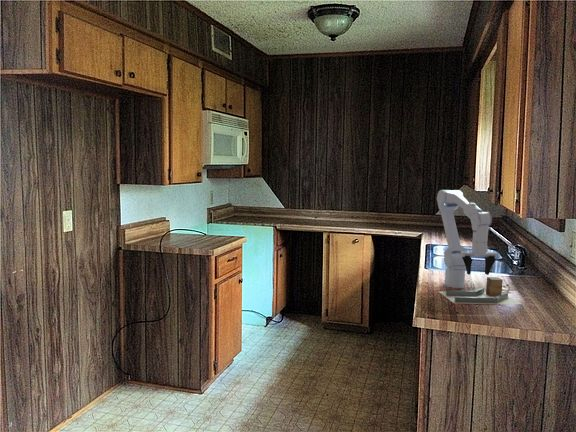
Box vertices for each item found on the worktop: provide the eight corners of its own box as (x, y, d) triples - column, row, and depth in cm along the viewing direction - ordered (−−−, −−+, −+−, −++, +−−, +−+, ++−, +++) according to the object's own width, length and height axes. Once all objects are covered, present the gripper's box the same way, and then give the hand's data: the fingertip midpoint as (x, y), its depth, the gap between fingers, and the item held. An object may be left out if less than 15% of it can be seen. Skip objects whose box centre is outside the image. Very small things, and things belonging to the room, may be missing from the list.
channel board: (438, 292, 211) (438, 291, 211) (500, 293, 212) (501, 291, 212) (454, 304, 193) (454, 303, 193) (522, 305, 194) (522, 303, 194)
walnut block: (485, 293, 209) (487, 276, 208) (496, 293, 209) (497, 277, 208) (490, 296, 204) (491, 279, 204) (501, 296, 205) (502, 279, 204)
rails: (441, 291, 210) (441, 287, 210) (499, 292, 211) (499, 287, 211) (455, 302, 194) (456, 297, 194) (518, 303, 195) (518, 298, 195)
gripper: (466, 242, 199) (464, 276, 201) (501, 243, 200) (499, 276, 201) (459, 240, 206) (457, 272, 208) (493, 240, 207) (491, 272, 208)
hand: (477, 274), depth 205 cm, fingers open, 7 cm apart
